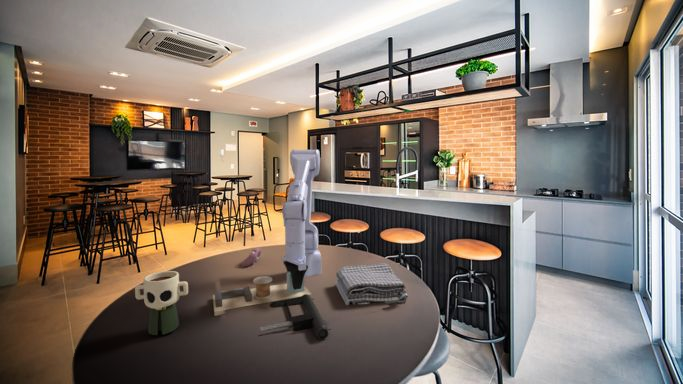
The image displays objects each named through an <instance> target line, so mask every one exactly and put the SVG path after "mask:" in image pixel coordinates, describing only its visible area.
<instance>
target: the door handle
mask: <svg viewBox="0 0 683 384" xmlns="http://www.w3.org/2000/svg"><path fill="white" fill-rule="evenodd" d="M313 300H314V298H311V295H308V294H304V295H302V296H300V297H295V298H289V299H283V300H278V301H272V302H270V303H269V307H270V308H272V309H275V308H276V309H277V308H286V310H287V312H288V315H289V318H290V320H288V321H283V322H279V323H274V324H268V325H264V326H260V327H259V331H261V332H263V331H268V330H273V329H275V331H270V332H266V333H262V334H258V335H257V336H258V337H261V336H262V337H263V336H268V335H273V334H280V333H287V332H295V333H297V332H302V331H307V330H313V332H314V334H315V336H316V337H317V338H318V340H325V339H327V338H328V336H329V331H330V330H331V328H328V326H327V325H326V323H325V321H324V320H323V317H322V316H321V315H322V314H320V312H319V310H318V308H317V305H315V302H314V301H313ZM301 305H302V307H303V310H304V312H305V313H303V314H298V315H295V316H292V313H291V310H290V307H292V306H293V307H294V306H301ZM287 327H289V328H287ZM281 328H285V329H281ZM276 329H280V330H276Z"/></svg>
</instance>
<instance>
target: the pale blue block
mask: <svg viewBox="0 0 683 384" xmlns="http://www.w3.org/2000/svg"><path fill="white" fill-rule="evenodd" d="M286 283H287V291H288V292H289V294H291V293H296V292H302V291H304V286H305V277H304V278H303V282H302V287H301V289H296V290H294V288H293V284H292V278H291V274H290V272H287V271H286Z"/></svg>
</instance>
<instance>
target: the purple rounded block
mask: <svg viewBox="0 0 683 384" xmlns="http://www.w3.org/2000/svg"><path fill="white" fill-rule="evenodd" d="M262 253H263V249H262V248H260V247H256V248H253V249H252V250H251V252H250V254H249V255H248V257H246V258H245V259H244V260H243V261H242V262H241V266H242V267H244V268H246V267H249V266H251V265H255V263H256V262H257V261H258V260H259V257H260V256H261V255H262Z"/></svg>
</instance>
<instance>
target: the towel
mask: <svg viewBox="0 0 683 384" xmlns="http://www.w3.org/2000/svg"><path fill="white" fill-rule="evenodd" d="M336 278H337V280H336V281H335V285H336V286H335V287H336V289H337V291H338V293H339V295H340V296H341V298H342V299H343V301H344V304H345V305H346V306H349V305H350V304H352V305H356V304H357V305H367V304H371V303H374V302H375V303H380V302H381V303H384V304H386V305H389V304H398V303H406V302H407V299H408V297H409V295H408V294H407V290H406V284H405V283H404V282H403V281H402V280H401V279H400V278H399V277H398V276H397V275H396V274H395V272H394V271H393V269H392V268H391V265H389V263H387V262H385V263H384V262H383V263H375V264H369V265H368V264H365V265H363V264H362V265H352V266H351V265H350V266H344V267H341V268H339V269H338V270H337V272H336Z"/></svg>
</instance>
